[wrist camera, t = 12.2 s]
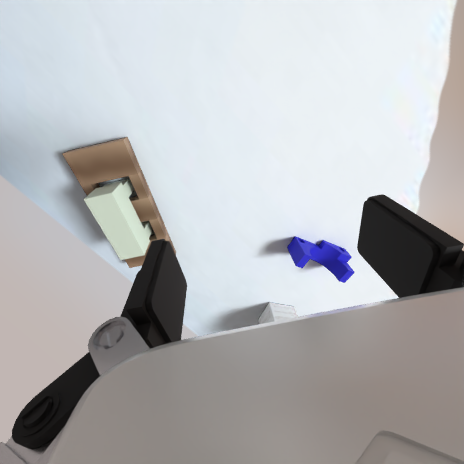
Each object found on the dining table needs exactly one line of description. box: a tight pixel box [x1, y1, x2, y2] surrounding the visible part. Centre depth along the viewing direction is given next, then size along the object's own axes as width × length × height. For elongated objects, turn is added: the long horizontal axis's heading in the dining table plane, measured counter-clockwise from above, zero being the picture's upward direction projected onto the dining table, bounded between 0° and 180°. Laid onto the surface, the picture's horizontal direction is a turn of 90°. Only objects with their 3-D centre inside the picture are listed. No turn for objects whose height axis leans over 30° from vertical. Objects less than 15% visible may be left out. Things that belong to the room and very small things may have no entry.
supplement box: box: [258, 302, 298, 324], centre depth 53 cm, size 7×7×13 cm
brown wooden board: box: [63, 137, 176, 268], centre depth 39 cm, size 22×9×2 cm, turn 11°
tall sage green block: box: [84, 179, 152, 260], centre depth 37 cm, size 11×4×7 cm, turn 11°
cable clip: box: [287, 236, 355, 283], centre depth 46 cm, size 12×4×6 cm, turn 64°
